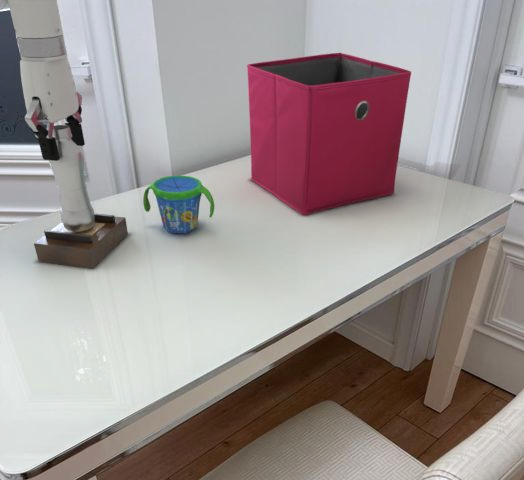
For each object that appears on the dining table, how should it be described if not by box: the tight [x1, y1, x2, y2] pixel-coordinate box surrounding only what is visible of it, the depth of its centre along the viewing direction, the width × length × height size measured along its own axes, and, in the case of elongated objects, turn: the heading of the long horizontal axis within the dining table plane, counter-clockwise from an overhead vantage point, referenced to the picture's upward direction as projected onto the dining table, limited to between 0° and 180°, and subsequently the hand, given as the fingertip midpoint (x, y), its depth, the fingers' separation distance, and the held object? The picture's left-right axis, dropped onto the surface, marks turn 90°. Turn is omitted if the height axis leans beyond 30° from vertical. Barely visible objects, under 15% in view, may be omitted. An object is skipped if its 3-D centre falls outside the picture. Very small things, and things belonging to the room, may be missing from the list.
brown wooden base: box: [33, 212, 129, 269], centre depth 114 cm, size 12×16×6 cm
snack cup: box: [142, 175, 215, 235], centre depth 120 cm, size 16×10×10 cm
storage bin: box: [246, 52, 412, 217], centre depth 134 cm, size 28×29×28 cm
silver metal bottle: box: [48, 124, 96, 232], centre depth 107 cm, size 6×7×20 cm
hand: (64, 151), depth 103 cm, fingers open, 8 cm apart
